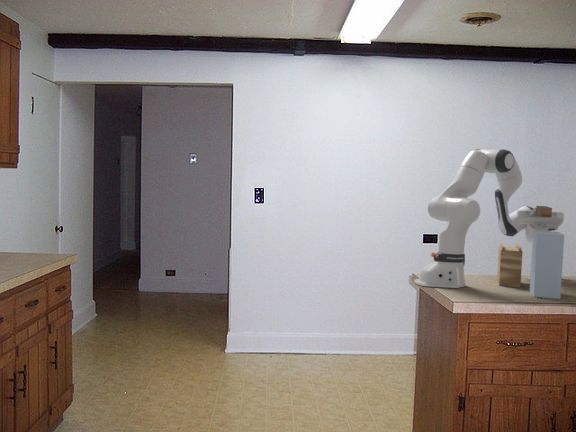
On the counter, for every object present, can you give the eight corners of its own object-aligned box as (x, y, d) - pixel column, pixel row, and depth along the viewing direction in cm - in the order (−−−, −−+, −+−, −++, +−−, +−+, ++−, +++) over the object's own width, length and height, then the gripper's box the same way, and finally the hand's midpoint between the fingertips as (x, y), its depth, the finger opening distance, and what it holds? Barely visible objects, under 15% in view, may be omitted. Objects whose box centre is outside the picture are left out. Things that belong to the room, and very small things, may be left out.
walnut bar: (551, 217, 257) (552, 207, 256) (541, 216, 258) (542, 207, 258) (545, 214, 276) (545, 206, 276) (535, 214, 277) (536, 205, 277)
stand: (560, 299, 242) (564, 234, 240) (533, 296, 245) (537, 233, 243) (554, 292, 257) (558, 231, 256) (529, 290, 260) (533, 230, 259)
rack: (520, 287, 267) (522, 248, 266) (499, 285, 270) (501, 246, 269) (517, 281, 283) (519, 244, 282) (497, 280, 285) (499, 243, 284)
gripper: (514, 216, 289) (517, 202, 277) (560, 218, 283) (565, 204, 271) (514, 228, 286) (517, 214, 274) (561, 230, 281) (566, 216, 269)
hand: (541, 209), depth 273 cm, fingers closed on walnut bar, 4 cm apart
